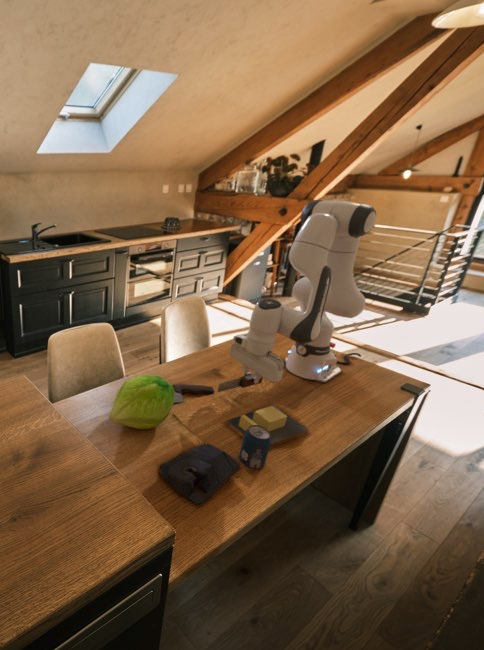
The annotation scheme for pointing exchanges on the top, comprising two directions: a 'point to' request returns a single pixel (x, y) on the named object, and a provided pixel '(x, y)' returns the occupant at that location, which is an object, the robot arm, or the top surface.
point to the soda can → (255, 447)
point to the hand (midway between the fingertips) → (250, 379)
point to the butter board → (275, 433)
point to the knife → (238, 382)
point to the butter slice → (245, 422)
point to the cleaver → (190, 390)
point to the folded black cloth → (199, 471)
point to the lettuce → (142, 402)
